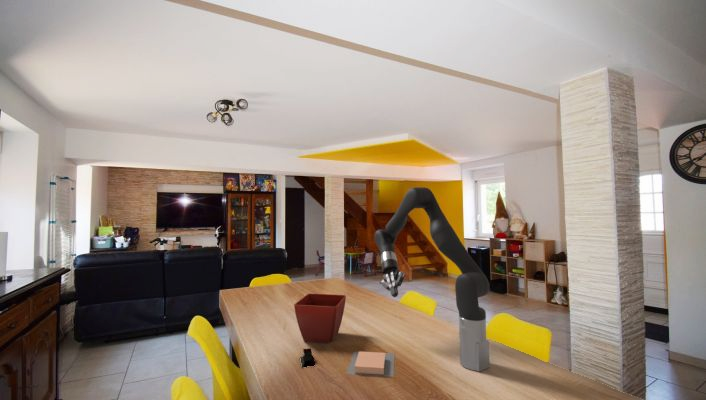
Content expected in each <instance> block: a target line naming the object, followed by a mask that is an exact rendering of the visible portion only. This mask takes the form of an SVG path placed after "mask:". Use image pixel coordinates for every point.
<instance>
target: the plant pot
mask: <svg viewBox="0 0 706 400" xmlns="http://www.w3.org/2000/svg"><path fill="white" fill-rule="evenodd" d="M346 299H347V296H346V295H345V294H332V293H331V294H328V293H327V294H326V293H307V294H306V295H305V296H303V297H302V298H300V299H299V300H298V301H297V302H295V303H294V305H293V306H294V312H295V313H294V314H295V317H296V322H297V325H298V329H299V332H300V334H301V338H302V339H303V341H304V342H310V343H311V342H312V343H322V344H328V343H332V342H333V341H334V339H335V338H336V337H337V336H338V334H339V331H340V328H341V324H342V320H343V316H344V311H345V306H346Z"/></svg>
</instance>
